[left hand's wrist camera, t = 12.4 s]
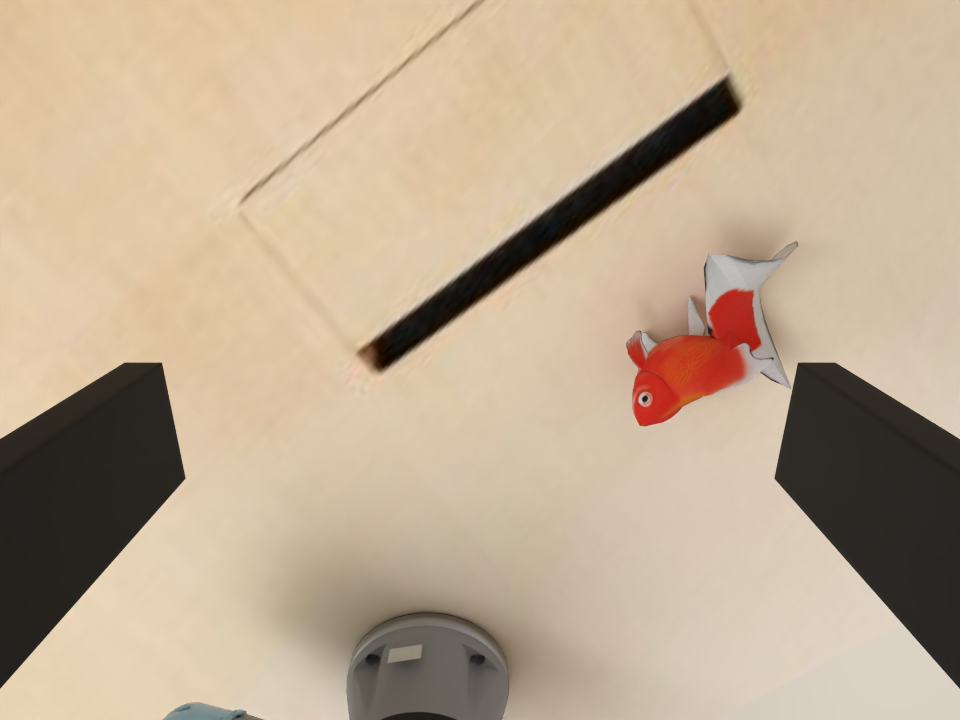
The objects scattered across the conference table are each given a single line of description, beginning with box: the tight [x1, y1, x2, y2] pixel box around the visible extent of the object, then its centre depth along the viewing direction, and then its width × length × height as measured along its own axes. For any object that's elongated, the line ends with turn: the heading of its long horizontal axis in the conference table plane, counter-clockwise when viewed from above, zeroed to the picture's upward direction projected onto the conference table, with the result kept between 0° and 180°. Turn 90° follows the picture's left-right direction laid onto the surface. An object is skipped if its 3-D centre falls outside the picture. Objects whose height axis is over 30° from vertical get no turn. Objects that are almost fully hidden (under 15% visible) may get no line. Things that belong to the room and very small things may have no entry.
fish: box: [626, 241, 798, 426], centre depth 40 cm, size 11×16×10 cm
